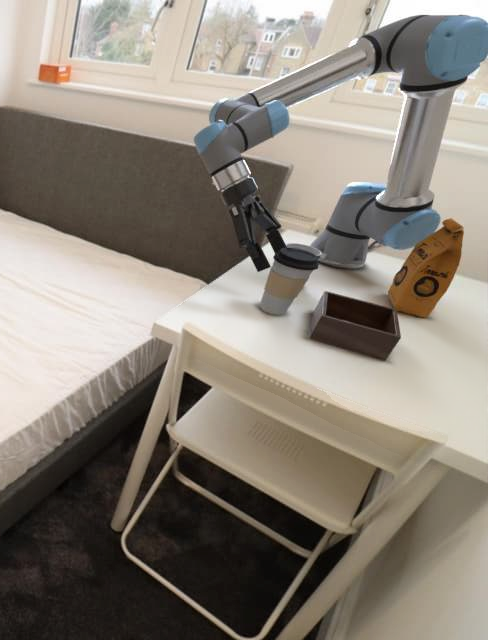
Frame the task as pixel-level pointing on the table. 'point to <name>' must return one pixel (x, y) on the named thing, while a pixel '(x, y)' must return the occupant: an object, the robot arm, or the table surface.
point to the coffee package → (428, 271)
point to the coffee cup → (287, 279)
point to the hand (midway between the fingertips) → (274, 262)
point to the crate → (355, 325)
